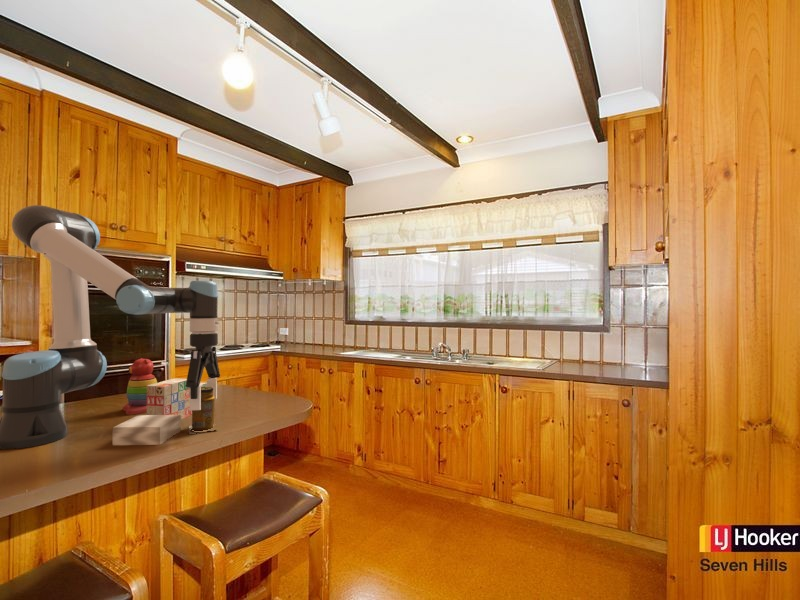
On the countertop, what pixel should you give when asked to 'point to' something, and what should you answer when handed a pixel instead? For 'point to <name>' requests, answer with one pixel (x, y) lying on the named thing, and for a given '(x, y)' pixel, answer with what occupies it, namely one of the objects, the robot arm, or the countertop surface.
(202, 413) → the condiment
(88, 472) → the countertop surface
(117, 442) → the birch block
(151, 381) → the stacking bear
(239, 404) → the countertop surface
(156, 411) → the stack of blocks
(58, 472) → the countertop surface
